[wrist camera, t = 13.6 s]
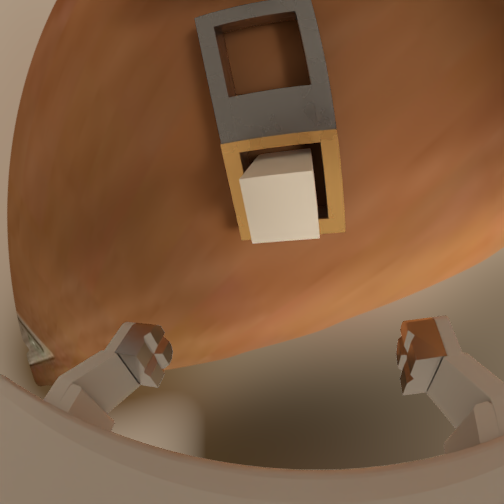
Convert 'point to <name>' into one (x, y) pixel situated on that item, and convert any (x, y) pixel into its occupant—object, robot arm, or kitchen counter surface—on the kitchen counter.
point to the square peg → (281, 197)
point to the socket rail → (273, 104)
